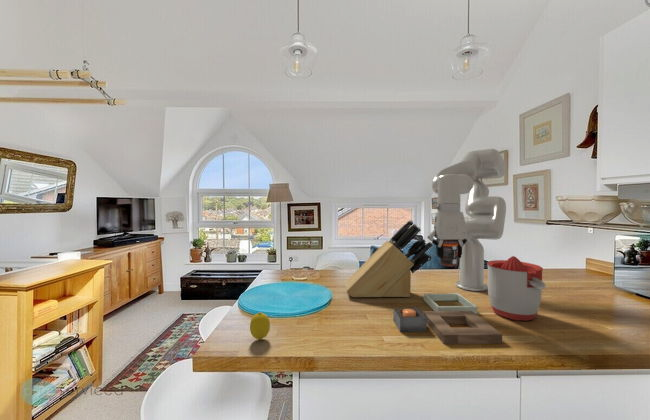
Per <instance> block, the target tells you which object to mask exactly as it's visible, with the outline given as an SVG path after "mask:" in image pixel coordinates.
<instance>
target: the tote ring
mask: <svg viewBox="0 0 650 420" xmlns="http://www.w3.org/2000/svg"><path fill="white" fill-rule="evenodd" d="M423 301H424V302H425V303H426V304H427V305H428V306H429V307H430V308H431V309H432V311H472V312H474V313H475V314H476V315H478V306H477V305H475V304H474V303H473V302H471V301H470V300H468V299H467V298H465V297H464V296H463V295H461V294H460V293H457V292H456V293H454V292H453V293H447V292H446V293H423ZM436 301H439V302H440V301H441V302H442V301H458V303H460V304H461V305H453V306H452V305H441V306H439V305H438V304H437V303H436Z"/></svg>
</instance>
